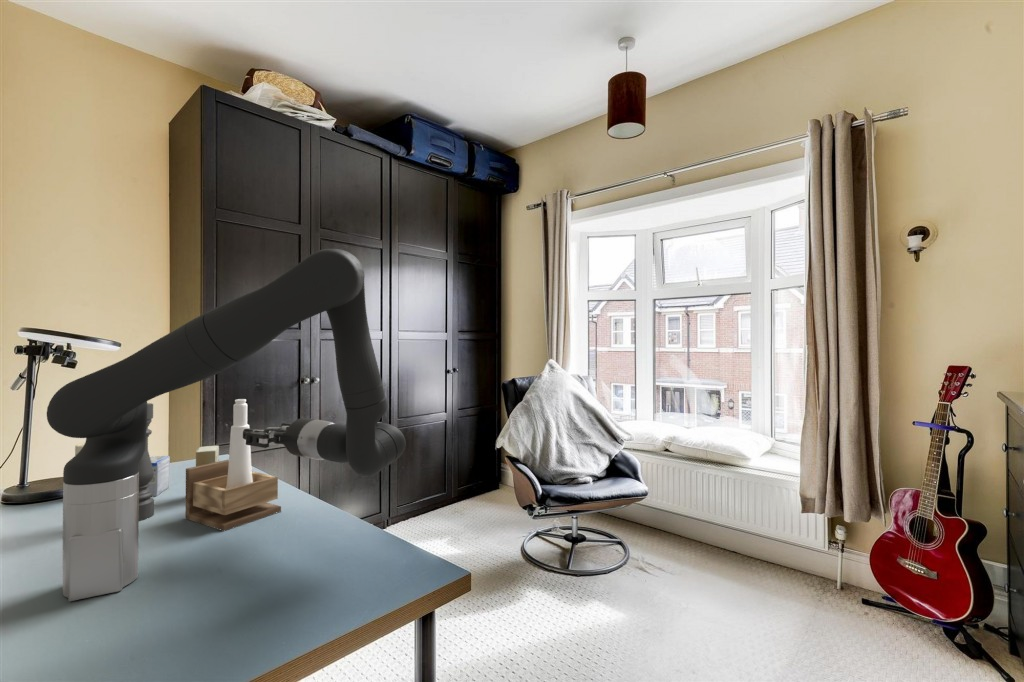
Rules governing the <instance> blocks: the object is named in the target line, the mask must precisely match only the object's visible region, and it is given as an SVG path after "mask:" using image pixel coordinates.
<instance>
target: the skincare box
mask: <svg viewBox="0 0 1024 682" xmlns="http://www.w3.org/2000/svg"><path fill="white" fill-rule="evenodd" d="M219 460H220V445H207V446H206V445H205V446H199V448H197V449H196V452H195V467H196V466H200V465H205V464H210V463H215V462H219Z"/></svg>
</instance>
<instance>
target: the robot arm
mask: <svg viewBox="0 0 1024 682" xmlns="http://www.w3.org/2000/svg"><path fill="white" fill-rule="evenodd" d="M365 288H366V287H365V271H364V267H363V265H362V263H361V261H360V260H359V259H358V258H357V257H356V256H355V255H353V254H352V253H351V252H349V251H348V250H344V249H339V248H325V249H320V250H317V251H314V252H313V253H311V254H309V255H308V256H306V257H305V258H304V259H303V260H301V261H300V262H299V263H297V264H296V265H295V266H293V267H292V268H290V269H289V270H287V271H286V272H284V273H283V274H281V275H280V276H279V277H277V278H276V279H274V280H272V281H271V282H269V283H268V284H266V285H264V286H262V287H261V288H258V289H256V290H254V291H251V292H249V293H246V294H243V295H241V296H238V297H236V298H234V299H231V300H229V301H227V302H224V303H222V304H221V305H219V306H217V307H215V308H212V309H210V310H207V311H206V312H205V313H203V314H201V315H199V316H197V317H195V318H194V319H192V320H189V321H188V322H186V323H184V324H183V325H181V326H180V327H177V328H176V329H174V330H173V331H171V332H169V333H168V334H167V333H166V335H163V336H161V337H160V338H158V339H157V340H155V341H152V342H151V343H150V344H148V345H146V346H144V347H143V348H141V349H140V350H138V351H136V352H134V353H132V354H131V355H129V356H128V357H125V358H123V359H122V360H119V361H117V362H115V363H112V364H111V365H107V366H106V367H103V368H101V369H98V370H97V371H95V372H94V371H93V372H92V373H88V374H86V375H84V376H81V377H79V378H77V379H75V380H72V381H69V382H68V383H67V384H65V385H63V386H62V387H61V388H59V389H58V390H57V391H56V392H55V393H54V394H53V395H52V397H51V399H50V400H49V403H48V405H47V410H46V419H47V423H48V425H49V426H50V428H51V429H52V430H54V431H55V432H56V433H58V434H60V435H62V436H65V437H69V438H74V439H85V442H84V443H85V444H84V446H83V448H82V449H81V450H80V452H79V453H78V454H77V455H76V456H75V455H74V456H73V457H72V458H71V459H69V460H68V461H67V462H66V464H64V467H63V473H62V476H63V479H62V480H63V481H62V482H63V483H62V484H63V485H62V487H63V488H62V595H63V596H64V597H65V598H68V599H67V600H68V601H67V602H74V601H78V600H79V601H80V600H82V599H87V598H92V597H97V596H103V595H106V594H111V593H117V592H121V591H122V590H123V588H124V587H126V586H128V585H130V584H132V583H133V582H134V581H135V580H136V579H138V577H139V561H140V560H139V558H140V557H139V547H140V546H139V545H140V544H139V537H140V536H139V528H140V525H139V524H140V523H139V522H140V521H139V463H140V460H141V458H142V456H143V454H144V451H145V446H146V432H147V415H148V406H147V403H148V401H151V400H152V399H154V398H157V397H159V396H161V395H164V394H167V393H170V392H172V391H175V390H178V389H181V388H184V387H187V386H190V385H193V384H197V383H198V382H200V381H204V380H206V379H208V378H211V377H214V376H215V375H217V374H220V373H222V372H224V371H226V370H228V369H229V368H231V367H233V366H235V365H237V364H239V363H240V362H242V361H245V359H247V358H249V357H250V356H252V355H253V354H255V353H257V352H258V351H260V350H261V349H263V348H264V347H265V346H267V345H268V344H270V343H271V342H272V341H274V340H275V339H276V338H277V337H279V336H280V335H281V334H282V333H284V332H285V331H286V330H288V329H290V328H291V327H293V326H295V325H297V324H299V323H301V322H303V321H306V320H308V319H310V318H313V317H314V316H317V315H319V314H322V313H323V312H326V314H327V317H328V320H329V323H330V327H331V331H332V337H333V344H334V352H335V364H336V372H337V374H336V375H337V379H338V386H339V390H340V393H341V397H342V401H343V405H344V409H345V413H346V424H342V423H341V424H340V423H335V422H332V421H328V420H323V419H314V418H307V417H302V418H298V419H295V420H294V421H293V422H291V423H290V422H282V423H281V424H280V425H281V426H279V427H278V426H275V427H274V426H272V427H271V426H269V427H266V428H264V429H258V428H257V429H255V428H250V429H249V428H246V429H244V430H243V439H245V440H246V445H250V446H252V447H257V448H264V449H267V448H270V446H279V447H285V448H286V450H287V451H288V452H289V454H292V455H293V456H297V457H300V458H302V457H303V458H307V459H312V460H317V461H329V462H334V463H339V464H345V463H346V464H349V466H350V468H351V470H353V471H354V473H356V475H359V476H360V477H364V478H369V477H372V476H375V475H377V474H378V473H380V472H381V471H383V470H384V469H385V468H387V467H388V466H390V465H391V464H392V463H394V462H395V461H396V460H398V459H400V457H401V456H402V455H403V453H404V452H405V450H406V444H407V442H406V438H405V436H404V434H403V432H402V431H401V430H400V429H399V428H398V427H397V426H395V425H393V424H389V423H385V422H379V421H380V420H381V419H382V418H383V416H384V415H385V414H386V412H387V410H388V404H387V399H386V394H385V390H384V385H383V381H382V377H381V373H380V370H379V365H378V362H377V357H376V354H375V351H374V350H375V349H374V347H373V342H372V338H371V333H370V332H371V331H370V328H369V322H368V321H369V320H368V315H367V306H366V292H365V291H366V290H365ZM271 432H273V436H271Z"/></svg>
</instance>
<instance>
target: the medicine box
mask: <svg viewBox="0 0 1024 682" xmlns="http://www.w3.org/2000/svg"><path fill="white" fill-rule="evenodd" d="M150 459H151V463H152V466H153V470H154V476H153V478H152V480H151V481H150V482H149V486H148V489H149V490H150V491H151V492H152V493H153V495H152V496H154V497H158V496H159V495H160V494H161V493H163V492H164V491H165V490H167V489H168V488H169V487H170V464H171V463H170V461H171V460H170V459H171V458H170V455H154V456H153V455H152V456H150Z"/></svg>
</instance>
